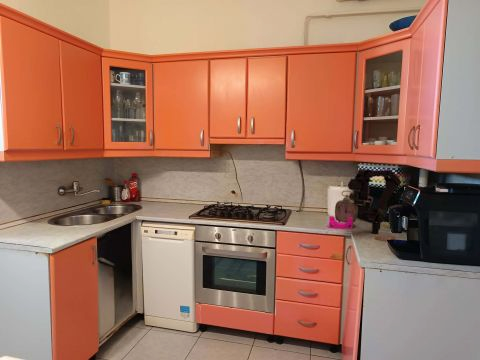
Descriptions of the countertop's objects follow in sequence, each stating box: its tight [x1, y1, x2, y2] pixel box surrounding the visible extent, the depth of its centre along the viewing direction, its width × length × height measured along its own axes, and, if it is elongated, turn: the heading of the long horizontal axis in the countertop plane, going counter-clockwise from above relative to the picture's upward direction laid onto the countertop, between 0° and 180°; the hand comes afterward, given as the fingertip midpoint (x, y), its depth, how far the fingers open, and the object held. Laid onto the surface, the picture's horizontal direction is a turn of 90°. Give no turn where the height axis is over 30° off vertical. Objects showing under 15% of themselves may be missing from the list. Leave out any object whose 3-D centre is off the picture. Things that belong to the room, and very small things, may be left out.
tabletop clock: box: [334, 190, 359, 228], centre depth 219 cm, size 14×9×25 cm, turn 65°
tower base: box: [374, 233, 397, 243], centre depth 186 cm, size 9×9×3 cm
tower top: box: [378, 229, 394, 238], centre depth 186 cm, size 7×7×3 cm
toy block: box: [328, 215, 354, 230], centre depth 214 cm, size 15×6×8 cm, turn 69°
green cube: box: [380, 221, 391, 232], centre depth 186 cm, size 4×4×4 cm
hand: (363, 214), depth 197 cm, fingers open, 9 cm apart
